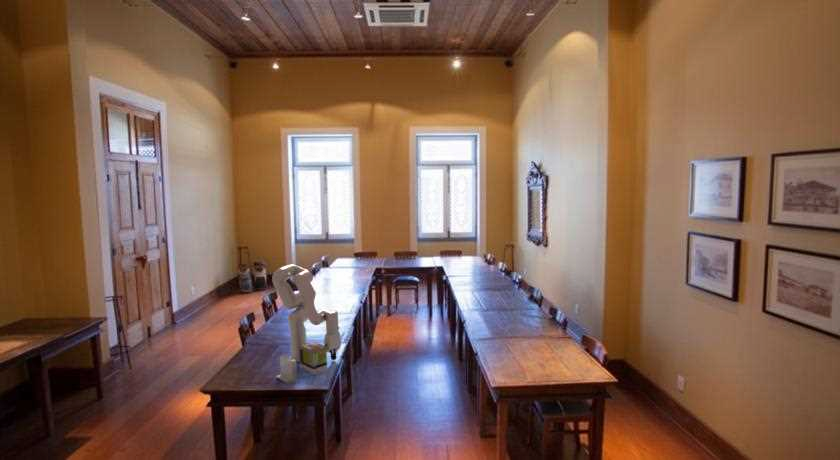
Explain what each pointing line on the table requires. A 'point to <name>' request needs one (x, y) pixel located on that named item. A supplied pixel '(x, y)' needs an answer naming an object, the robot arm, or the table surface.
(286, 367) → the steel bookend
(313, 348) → the tea box
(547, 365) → the table surface
